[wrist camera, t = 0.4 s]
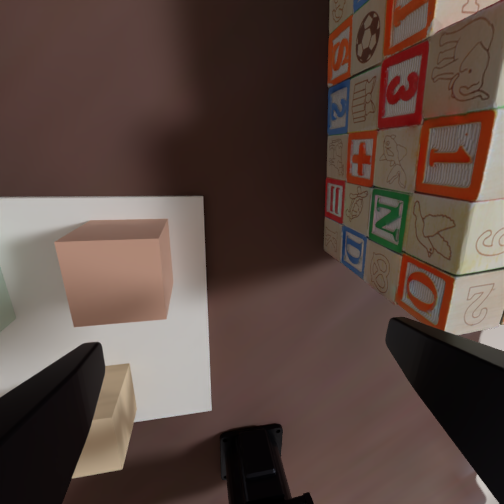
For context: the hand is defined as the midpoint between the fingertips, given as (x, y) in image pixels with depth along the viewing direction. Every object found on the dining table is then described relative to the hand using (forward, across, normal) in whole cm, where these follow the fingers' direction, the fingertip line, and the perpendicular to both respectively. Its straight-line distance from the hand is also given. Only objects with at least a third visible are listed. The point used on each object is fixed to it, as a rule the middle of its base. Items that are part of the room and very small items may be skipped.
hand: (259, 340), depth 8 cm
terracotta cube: (+13, +6, +1) cm, 14 cm away
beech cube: (+13, +10, +13) cm, 21 cm away
